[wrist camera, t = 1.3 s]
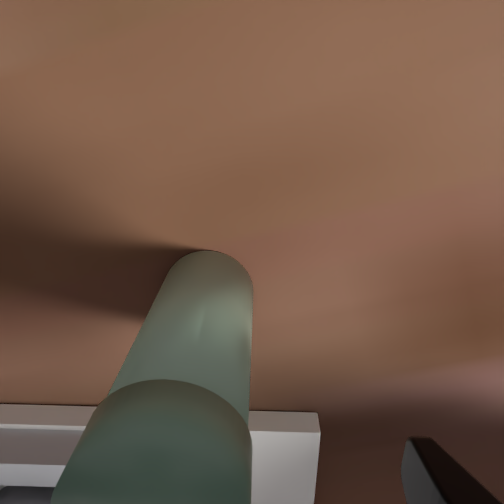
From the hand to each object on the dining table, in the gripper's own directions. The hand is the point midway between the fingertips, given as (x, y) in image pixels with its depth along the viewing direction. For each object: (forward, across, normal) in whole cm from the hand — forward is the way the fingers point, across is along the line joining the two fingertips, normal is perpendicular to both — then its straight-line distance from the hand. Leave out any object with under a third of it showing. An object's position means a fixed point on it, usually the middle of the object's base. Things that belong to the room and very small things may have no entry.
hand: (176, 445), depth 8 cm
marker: (+6, 0, 0) cm, 6 cm away
